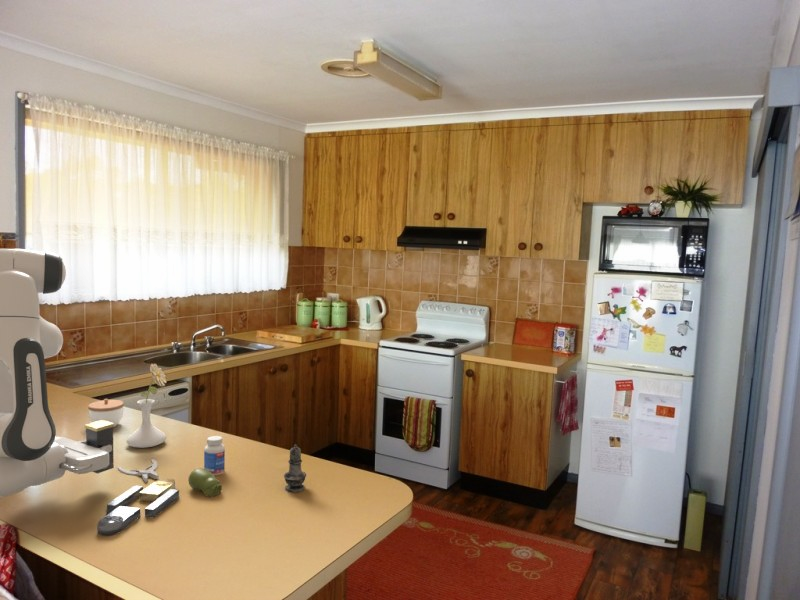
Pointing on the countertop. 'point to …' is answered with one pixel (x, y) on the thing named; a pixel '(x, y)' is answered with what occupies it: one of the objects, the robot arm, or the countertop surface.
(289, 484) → the salt shaker
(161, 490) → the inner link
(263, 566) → the countertop surface
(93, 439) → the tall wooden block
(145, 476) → the pliers
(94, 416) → the lidded jar
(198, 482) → the pear
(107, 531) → the grey metal bars
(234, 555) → the countertop surface
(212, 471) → the pill bottle
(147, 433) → the flower in vase
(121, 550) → the countertop surface
